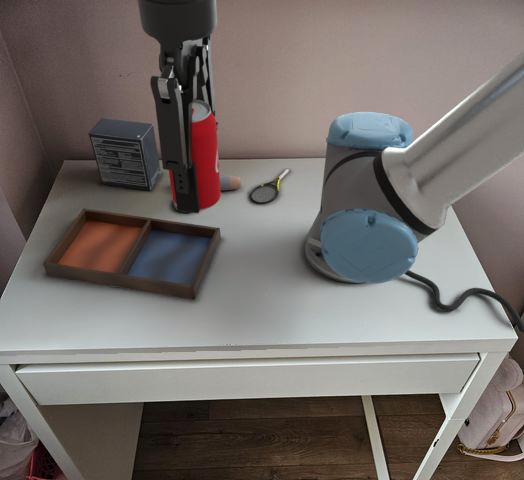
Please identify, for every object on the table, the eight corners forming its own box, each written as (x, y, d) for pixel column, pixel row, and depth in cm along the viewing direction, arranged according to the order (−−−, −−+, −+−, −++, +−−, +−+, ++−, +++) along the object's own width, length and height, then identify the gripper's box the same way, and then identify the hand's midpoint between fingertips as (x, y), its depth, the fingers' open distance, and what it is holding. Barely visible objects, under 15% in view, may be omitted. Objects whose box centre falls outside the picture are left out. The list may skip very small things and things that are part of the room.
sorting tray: (220, 239, 91) (220, 227, 89) (195, 300, 81) (193, 288, 79) (86, 219, 94) (83, 208, 92) (47, 275, 85) (42, 264, 83)
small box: (163, 173, 104) (155, 122, 96) (151, 191, 100) (142, 139, 92) (113, 166, 105) (101, 115, 97) (100, 184, 101) (86, 133, 93)
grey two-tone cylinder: (183, 177, 101) (183, 192, 101) (181, 171, 98) (181, 187, 98) (240, 177, 101) (240, 193, 101) (240, 172, 98) (240, 188, 98)
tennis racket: (244, 200, 98) (267, 208, 97) (244, 197, 98) (267, 204, 96) (276, 168, 105) (298, 174, 104) (276, 164, 105) (298, 171, 103)
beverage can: (223, 188, 69) (219, 97, 60) (217, 216, 66) (211, 124, 56) (177, 185, 70) (166, 94, 60) (168, 213, 66) (154, 121, 56)
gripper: (169, -49, 55) (190, 152, 73) (97, 16, 43) (143, 236, 61) (237, -43, 54) (241, 158, 72) (183, 24, 43) (204, 245, 61)
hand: (196, 194), depth 67 cm, fingers closed on beverage can, 6 cm apart
